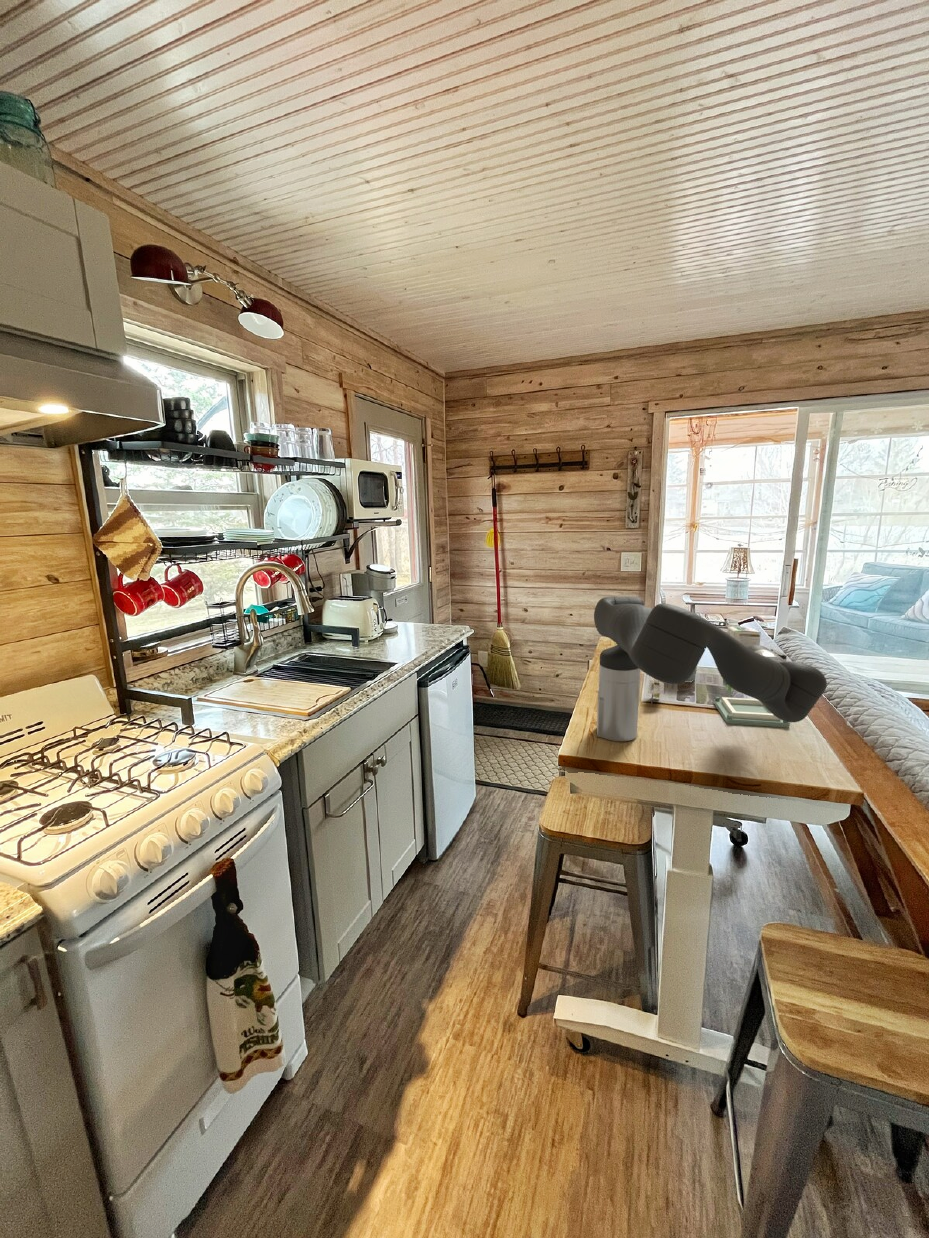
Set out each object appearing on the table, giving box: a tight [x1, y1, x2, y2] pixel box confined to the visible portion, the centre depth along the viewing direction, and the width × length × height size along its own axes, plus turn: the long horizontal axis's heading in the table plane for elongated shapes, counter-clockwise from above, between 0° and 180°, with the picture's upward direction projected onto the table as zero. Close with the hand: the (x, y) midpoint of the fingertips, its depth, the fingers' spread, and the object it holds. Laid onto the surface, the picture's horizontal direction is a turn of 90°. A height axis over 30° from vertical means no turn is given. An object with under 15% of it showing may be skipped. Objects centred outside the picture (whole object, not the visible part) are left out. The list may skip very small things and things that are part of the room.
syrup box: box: [722, 625, 762, 693], centre depth 121 cm, size 6×6×14 cm
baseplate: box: [713, 696, 791, 728], centre depth 135 cm, size 14×14×2 cm
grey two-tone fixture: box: [647, 678, 665, 708], centre depth 145 cm, size 12×18×7 cm, turn 159°
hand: (738, 649), depth 123 cm, fingers closed on syrup box, 6 cm apart
